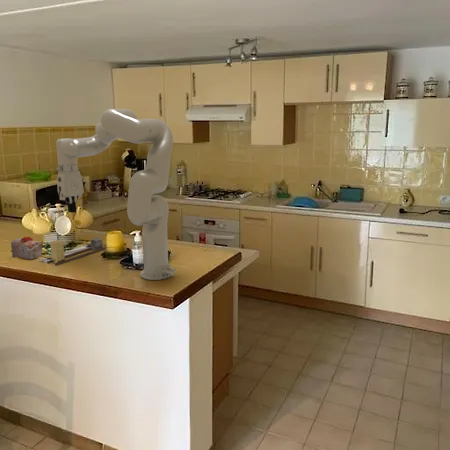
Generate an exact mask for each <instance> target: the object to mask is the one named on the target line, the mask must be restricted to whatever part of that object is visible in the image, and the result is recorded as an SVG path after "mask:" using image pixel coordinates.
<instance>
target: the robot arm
mask: <svg viewBox="0 0 450 450" xmlns="http://www.w3.org/2000/svg"><path fill="white" fill-rule="evenodd" d="M94 131H95V134H94V135H92V136H90V137H79V138H76V137H75V138H70V137H68V138H67V137H65V138H57V140H56V142H55V144H56V145H55V147H56V153H57V154H56V155H57V165H58V166H57V167H56V170H57V171H58V173H57V182H56V183H57V194H58V196H59V200H60V201H64V202H65V203H66V205H67V211H68V213H71V214H73V213H76V212H77V202H78V199H79V198H81V197H83V194H84V193H85V191H84V183H83V178H82V174H81V172H80V170H79V168H78V167H79V166H78V158H85V157H91V156H92V157H93V156H96V155H98V154H101V153H102V152H103V151H106V150H107V149H108V148H109V147H110V146H111V144H112V142H114V141H116V140H118V139H122V140H124V141H126V142H128V143H132V144H136V145H137V144H147V143H151V146H150V148H149V150H148V153H147V157H146V167H145V169H142V170H138V171H136V172H135V173H134V174H132V176H131V178H130V180H129V186H128V195H127V196H128V197H127V204H126V205H127V208H126V209H127V211H126V214H127V217H128V219H129V221H130V222H131V223H132V224H133V225H135V226H138V227H139V226H142V231H141V232H142V233H141V234H142V236H141V237H142V244H143V250H142V257H143V270H140V272H139V276H140V278H141V279H144V280H148V281H159V280H166V279H169V278H170V277H173V276H174V274H175V273H176V269H175V268H171V264H170V263H169V250H168V249H169V248H168V247H169V246H168V222H169V221H168V220H169V211H170V207H169V204H168V201H167V200H166V199H165V197H164V196H161V195H157V194H160V193H162V192H164V191H165V190H167V188H168V185H169V177H170V170H171V169H170V168H171V157H172V151H173V144H174V136H173V133H172V129H171V127H170V126H169V125H168V124H167V123H166V122H164V121H163V120H161V119H158V118H138V117H137V115H136V113H135V112H134V111H133V110H132V109H128V108H109V109H106V110H105V111H104V112H103V113H102V114H101V117H100V121H99V122H98V123H97V124H96V125H95V129H94Z"/></svg>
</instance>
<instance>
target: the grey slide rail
mask: <svg viewBox="0 0 450 450" xmlns="http://www.w3.org/2000/svg"><path fill="white" fill-rule="evenodd" d="M105 249H106V250H107V248H106V247H105V246H104V245H103V238H99V237H95V238H92V239H90V243H88V242H85V244H84V245H83V246H79V247H76V248H73V249H71V250H66V251H64V257H65V260H63V261H60V262H57V263H54V266H56V267H57V266H60V265H63V264H66V263H69V262H72V261H75V260H77V259H81V258H84V257H87V256H90V255H94V254H96V253H99V252H102V251H105ZM79 254H80V255H79ZM39 262H41V263H45V264H48V265H49V264H51V263H52V258H49V257H47V256H46V257H45V258H42V259H39ZM52 264H53V263H52Z"/></svg>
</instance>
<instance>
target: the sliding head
mask: <svg viewBox="0 0 450 450" xmlns="http://www.w3.org/2000/svg"><path fill="white" fill-rule="evenodd" d="M49 244H50V254H46V258H47V257H49V258H52V264H55V263H57V262H60V261H63V260H66V258H65V257H64V252H65V249H64V248H65V247H64V241H63V240H60V239H56V240H53V241H50V242H49Z"/></svg>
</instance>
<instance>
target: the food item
mask: <svg viewBox="0 0 450 450" xmlns="http://www.w3.org/2000/svg"><path fill="white" fill-rule="evenodd" d="M42 242H43V241H37V240H33V237H31V236H24V237H20V238H16V239H13V240H11V241H10V244H11V245H10V246H11V253H12V254H11V255H12V258H16V257H17V258H21V259H24V260H31V261H32V260H34V259H39V258H41V257H43V243H42Z"/></svg>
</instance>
